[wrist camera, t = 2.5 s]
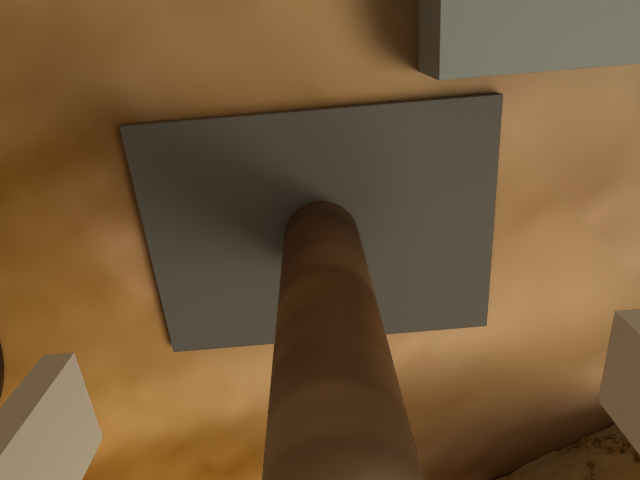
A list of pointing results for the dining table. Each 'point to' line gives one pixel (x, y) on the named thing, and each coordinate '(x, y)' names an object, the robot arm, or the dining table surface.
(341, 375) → the peg
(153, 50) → the dining table surface
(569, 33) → the block
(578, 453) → the rock
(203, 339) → the mat
